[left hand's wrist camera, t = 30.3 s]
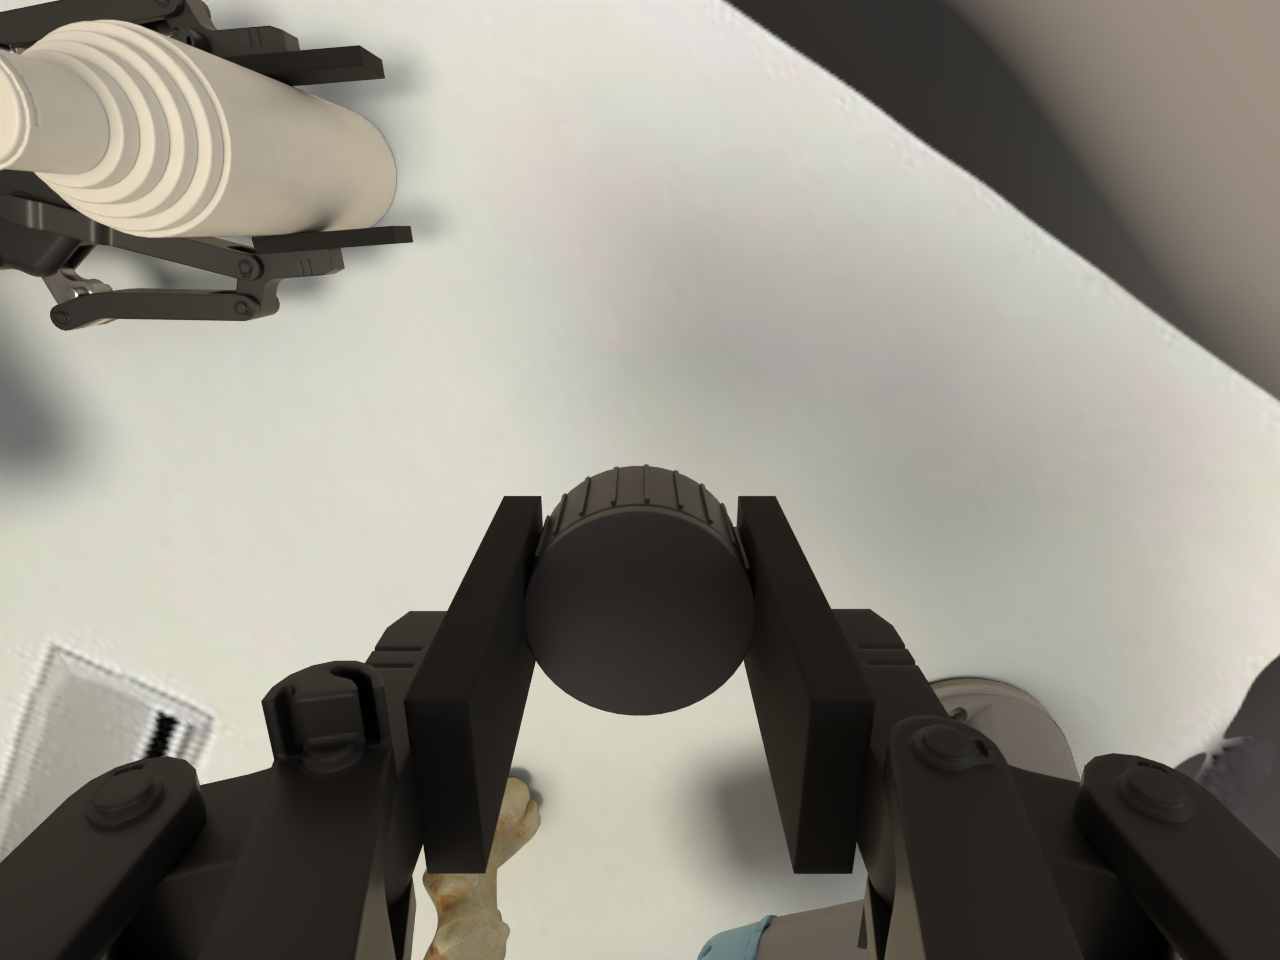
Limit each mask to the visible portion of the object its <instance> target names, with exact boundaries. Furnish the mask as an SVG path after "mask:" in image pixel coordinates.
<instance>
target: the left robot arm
mask: <svg viewBox="0 0 1280 960" xmlns="http://www.w3.org/2000/svg"><path fill="white" fill-rule="evenodd" d="M542 529H543V522H542V503H541V496H504V498H503V500H502V502H501V504H500V506H499V508H498V510H497V512H496V514H495V516H494V518H493V520H492V522H491V524H490V526H489V528H488V530H487V532H486V534H485V536H484V538H483V540H482V542H481V544H480V546H479V548H478V550H477V552H476V554H475V556H474V558H473V560H472V562H471V564H470V566H469V568H468V570H467V572H466V574H465V576H464V578H463V580H462V582H461V585H460V587H459V589H458V591H457V593H456V595H455V597H454V599H453V601H452V603H451V605H450V607H449V609H448V611H409V612H408V613H407V614H405V615H404V616H403V617H401V618H400V619H399V620H397V621H396V622H394V623H393V624H392V625H390V626H389V627H388V628H387V629H386V630H385V632H384V634H383V635H382V637H381V638H380V640H379V642H378V643H377V645H376V646H375V651H372V653H371V654H370V656H369V658H368V659H367V661H366V662H365V663H362V662H358V661H332V662H327V663H322V664H318V665H313V666H310V667H308V668H305V669H303V670H300V671H298V672H296V673H293V674H291V675H289V676H288V677H286V678H285V679H283V680H282V681H280V682H279V683H278V684H276V685H275V686H273V687H272V688H271V690H270V691H269V692H268V693H267V695H266V696H265V697H264V698H263V700H262V701H261V702H262V706H263V711H264V715H265V720H266V724H267V729H268V733H269V738H270V742H271V747H272V751H273V756H274V762H273V765H272V767H271V768H269V769H265V770H262V771H259V772H255V773H252V774H248V775H244V776H239V777H235V778H231V779H226V780H222V781H217V782H213V783H208V784H204V785H200V784H199V780H198V776H197V773H196V769H195V768H194V767H192V766H191V765H190V764H189V763H188V762H187V761H186V760H183V759H178V758H173V757H168V756H166V757H157V758H147V759H141V760H138V761H135V762H131V763H129V764H125V765H122V766H119V767H116V768H114V769H112V770H110V771H108V772H106V773H105V774H103V775H101V776H99V777H97V778H95V779H93V780H91V781H89V782H88V783H87V784H86V785H84V786H83V787H82V788H80V789H79V790H78V791H76V792H75V793H74V794H72V795H71V796H70V797H69V798H67V799H66V800H65V801H64V802H63V803H62V804H61V805H60V806H59V807H58V808H57V809H56V810H55V811H54V812H53V813H52V814H51V815H50V816H49V817H48V818H47V819H46V820H45V821H44V822H43V823H41V824H40V825H39V826H38V827H37V828H36V829H35V830H34V831H33V832H32V833H31V834H30V835H29V836H28V837H27V838H26V839H25V840H24V841H23V842H22V843H21V844H20V845H19V846H18V847H17V848H15V849H14V850H13V851H12V852H11V853H10V854H9V855H8V856H7V857H6V858H5V859H4V860H3V861H2V862H1V863H0V960H411V952H412V942H413V932H414V922H415V912H416V899H415V891H414V885H413V878H412V874H413V871H414V868H415V866H416V863H417V860H418V857H419V854H420V851H421V848H422V845H424V853H425V860H426V867H427V874H485V873H486V869H487V865H488V860H489V856H490V852H491V848H492V844H493V839H494V835H495V831H496V827H497V822H498V818H499V814H500V810H501V806H502V801H503V797H504V793H505V789H506V784H507V780H508V776H509V772H510V768H511V763H512V759H513V755H514V751H515V746H516V742H517V738H518V734H519V729H520V725H521V721H522V717H523V713H524V708H525V704H526V700H527V696H528V691H529V687H530V683H531V679H532V675H533V670H534V666H535V662H536V659H535V658H534V656H533V654H532V652H531V650H530V647H529V644H528V642H527V635H526V620H525V603H524V596H525V592H526V588H527V584H528V581H529V578H530V574H531V571H532V568H533V564H534V561H535V559H533V558H534V555H535V552H536V548H537V545H538V542H539V539H540V536H541V532H542ZM737 529H738V532H739V535H740V538H741V541H742V544H743V547H744V551H745V554H746V557H747V560H748V563H749V566H750V569H751V572H748V574H749V578H750V580H751V584H752V587H753V591H754V596H755V612H754V628H753V639H752V642H751V644H750V647H749V650H748V652H747V654H746V656H745V658H744V664H745V668H746V672H747V676H748V681H749V685H750V689H751V693H752V698H753V702H754V706H755V710H756V714H757V719H758V723H759V727H760V731H761V736H762V740H763V744H764V748H765V752H766V757H767V761H768V765H769V769H770V774H771V778H772V782H773V786H774V791H775V795H776V799H777V803H778V807H779V812H780V816H781V820H782V824H783V829H784V833H785V837H786V841H787V845H788V850H789V854H790V858H791V862H792V867H793V871H794V874H852V871H853V864H854V857H855V849H856V842H857V843H858V846H859V849H860V852H861V855H862V858H863V861H864V863H865V866H866V869H867V872H868V878H867V885H866V891H865V898H864V900H859V901H855V902H850V903H845V904H841V905H836V906H831V907H827V908H822V909H816V910H811V911H806V912H801V913H795V914H790V915H785V916H780V917H777V916H774V915H770V916H766V917H764V918H763V919H762V920H761V921H760V922H756V923H753V924H750V925H746V926H743V927H739V928H735V929H732V930H728V931H724V932H721V933H718V934H716V935H715V936H713V937H712V938H711V939H710V940H708V941H707V943H706V944H705V945H704V947H703V948H702V950H701V952H700V954H699V956H698V958H697V960H1280V859H1279V858H1278V857H1277V856H1276V855H1275V854H1274V853H1273V852H1272V851H1271V850H1270V849H1269V848H1268V847H1267V846H1266V845H1265V844H1264V843H1263V842H1261V841H1260V840H1259V839H1258V838H1257V837H1256V836H1255V835H1254V834H1253V833H1252V832H1251V831H1250V830H1249V829H1248V828H1247V827H1246V826H1245V825H1244V824H1243V823H1242V822H1241V821H1239V820H1238V819H1237V818H1236V817H1235V816H1234V815H1233V814H1232V813H1231V812H1230V811H1229V810H1228V809H1227V808H1226V807H1225V806H1224V805H1223V804H1222V803H1221V802H1220V801H1219V800H1217V799H1216V798H1215V797H1214V796H1213V795H1212V794H1211V793H1210V792H1208V791H1207V790H1206V789H1204V788H1203V787H1202V786H1200V785H1199V784H1198V783H1197V782H1195V781H1194V780H1193V779H1191V778H1190V777H1188V776H1186V775H1184V774H1182V773H1180V772H1178V771H1176V770H1174V769H1172V768H1170V767H1168V766H1166V765H1164V764H1162V763H1158V762H1156V761H1153V760H1149V759H1146V758H1142V757H1139V756H1134V755H1124V754H1115V753H1112V754H1107V755H1102V756H1097V757H1094V758H1093V759H1092V760H1091V761H1090V762H1089V763H1088V764H1087V765H1085V767H1084V771H1083V774H1082V778H1081V781H1080V778H1079V775H1078V772H1077V769H1076V766H1075V763H1074V760H1073V757H1072V753H1071V750H1070V747H1069V745H1068V742H1067V740H1066V738H1065V736H1064V734H1063V732H1062V731H1061V729H1060V728H1059V726H1058V725H1057V724H1056V723H1055V721H1054V720H1053V719H1052V718H1051V717H1050V715H1049V714H1048V713H1047V712H1046V711H1045V709H1044V708H1043V707H1042V706H1041V705H1040V704H1039V703H1038V702H1037V701H1036V700H1035V699H1033V698H1032V697H1031V696H1029V695H1028V694H1026V693H1024V692H1023V691H1021V690H1019V689H1017V688H1015V687H1013V686H1010V685H1007V684H1004V683H1000V682H996V681H992V680H985V679H955V680H948V681H942V682H938V683H934V684H929V683H928V681H927V679H926V678H925V676H924V675H923V673H922V671H921V670H920V668H919V667H918V665H915V660H914V659H913V657H912V655H911V654H910V652H909V651H908V649H905V644H904V643H903V641H902V639H901V638H900V636H899V635H898V633H897V632H896V630H895V628H894V627H893V625H891V624H890V623H888V622H887V621H886V620H884V619H883V618H882V617H880V616H879V615H877V614H876V613H875V612H873V611H872V610H871V609H831V608H830V606H829V604H828V602H827V600H826V598H825V596H824V594H823V592H822V590H821V588H820V585H819V583H818V581H817V579H816V577H815V575H814V573H813V571H812V569H811V567H810V565H809V563H808V561H807V559H806V557H805V555H804V553H803V551H802V549H801V547H800V545H799V543H798V541H797V539H796V537H795V535H794V533H793V531H792V529H791V527H790V525H789V523H788V521H787V519H786V517H785V515H784V513H783V511H782V509H781V507H780V505H779V503H778V501H777V499H776V496H738V513H737Z"/></svg>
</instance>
